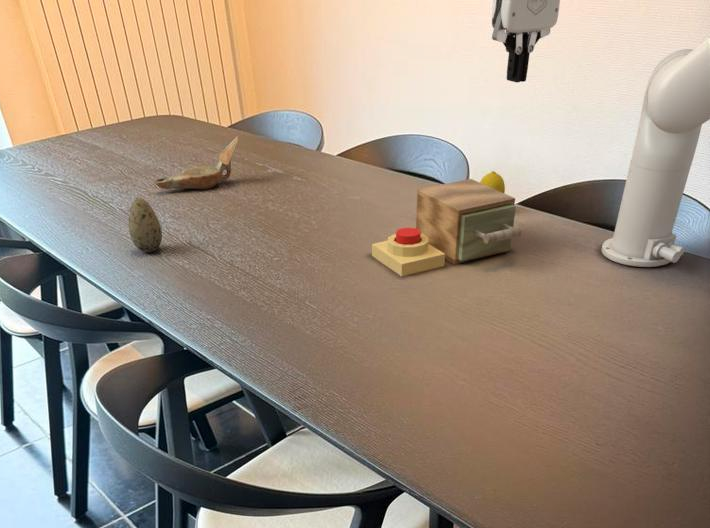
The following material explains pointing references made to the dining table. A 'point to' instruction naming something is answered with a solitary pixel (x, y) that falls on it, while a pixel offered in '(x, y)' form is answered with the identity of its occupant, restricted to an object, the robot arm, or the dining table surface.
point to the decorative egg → (144, 226)
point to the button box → (408, 256)
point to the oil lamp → (201, 173)
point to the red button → (408, 236)
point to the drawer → (487, 232)
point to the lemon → (494, 181)
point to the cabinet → (453, 212)
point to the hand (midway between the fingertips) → (516, 80)
